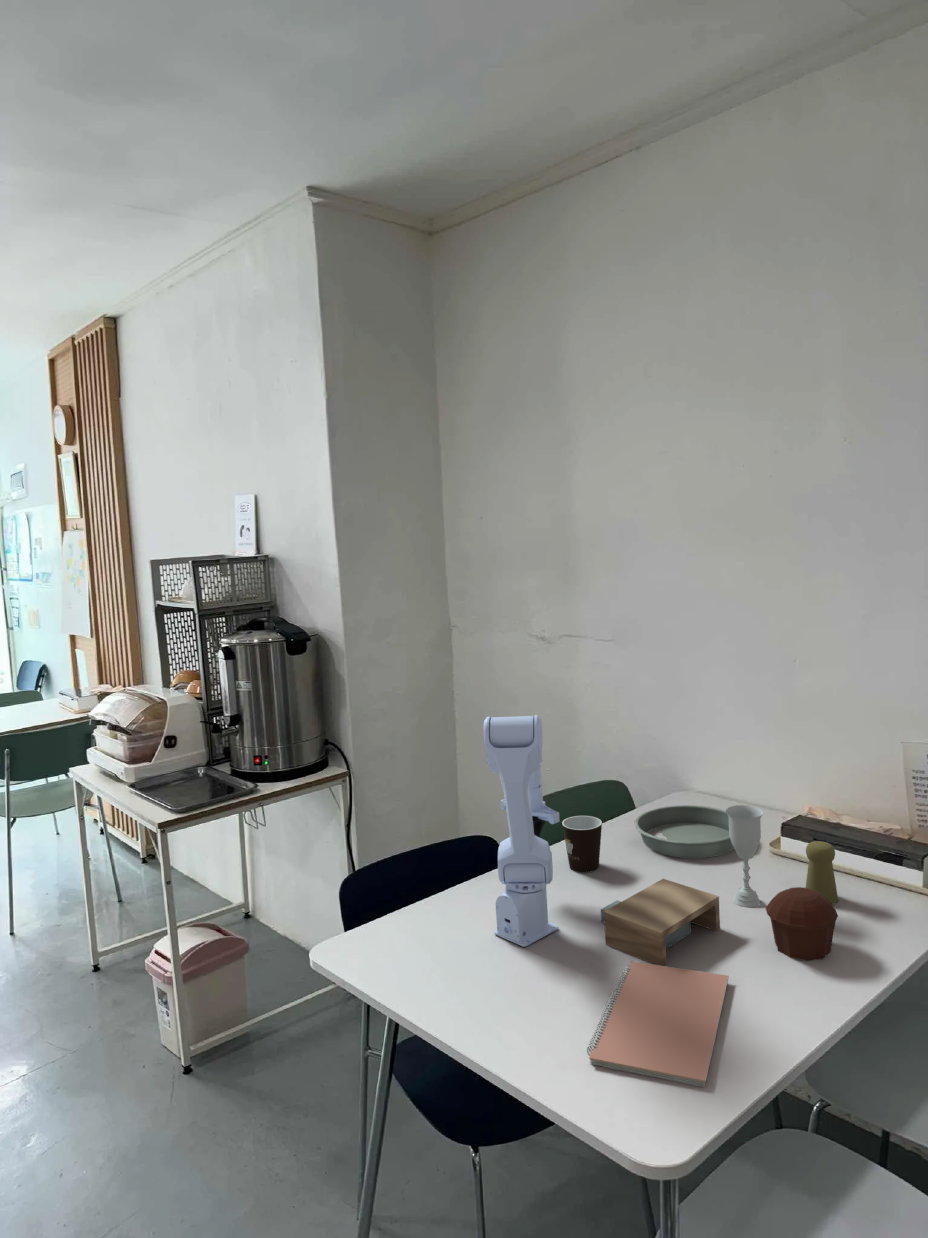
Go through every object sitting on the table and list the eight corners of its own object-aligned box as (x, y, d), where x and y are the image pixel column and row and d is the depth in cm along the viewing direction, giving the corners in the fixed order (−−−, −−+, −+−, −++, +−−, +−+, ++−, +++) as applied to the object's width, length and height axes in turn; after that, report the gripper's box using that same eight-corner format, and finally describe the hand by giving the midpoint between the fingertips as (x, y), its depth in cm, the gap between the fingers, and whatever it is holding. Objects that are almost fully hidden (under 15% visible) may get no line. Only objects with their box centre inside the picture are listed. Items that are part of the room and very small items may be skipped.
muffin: (802, 926, 153) (801, 873, 152) (853, 952, 143) (852, 896, 142) (752, 943, 148) (750, 889, 147) (801, 972, 138) (800, 913, 137)
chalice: (768, 910, 160) (765, 818, 158) (730, 909, 161) (727, 818, 159) (762, 893, 167) (760, 805, 165) (726, 892, 169) (723, 805, 167)
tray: (662, 951, 148) (661, 932, 147) (594, 925, 159) (593, 907, 158) (691, 932, 154) (690, 913, 153) (624, 908, 165) (623, 890, 164)
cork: (832, 891, 166) (831, 837, 165) (842, 905, 160) (842, 849, 159) (800, 891, 167) (799, 838, 166) (809, 905, 161) (808, 850, 160)
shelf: (662, 968, 142) (660, 932, 142) (605, 944, 151) (604, 911, 151) (719, 928, 154) (718, 896, 154) (664, 909, 163) (663, 878, 162)
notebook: (625, 970, 143) (625, 958, 143) (729, 985, 137) (728, 974, 136) (582, 1068, 119) (581, 1054, 119) (706, 1093, 112) (705, 1078, 112)
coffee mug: (606, 873, 181) (604, 828, 180) (566, 875, 181) (564, 831, 180) (599, 852, 193) (597, 810, 192) (561, 854, 193) (559, 812, 192)
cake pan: (683, 815, 214) (683, 797, 213) (767, 841, 194) (766, 822, 193) (613, 840, 200) (612, 822, 200) (695, 871, 180) (694, 851, 179)
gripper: (568, 786, 168) (571, 852, 170) (515, 774, 179) (519, 835, 181) (544, 796, 164) (547, 863, 165) (492, 782, 174) (496, 845, 176)
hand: (531, 849), depth 173 cm, fingers closed
